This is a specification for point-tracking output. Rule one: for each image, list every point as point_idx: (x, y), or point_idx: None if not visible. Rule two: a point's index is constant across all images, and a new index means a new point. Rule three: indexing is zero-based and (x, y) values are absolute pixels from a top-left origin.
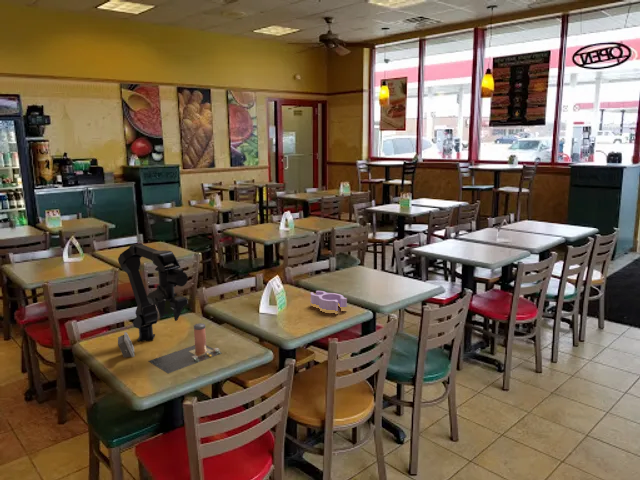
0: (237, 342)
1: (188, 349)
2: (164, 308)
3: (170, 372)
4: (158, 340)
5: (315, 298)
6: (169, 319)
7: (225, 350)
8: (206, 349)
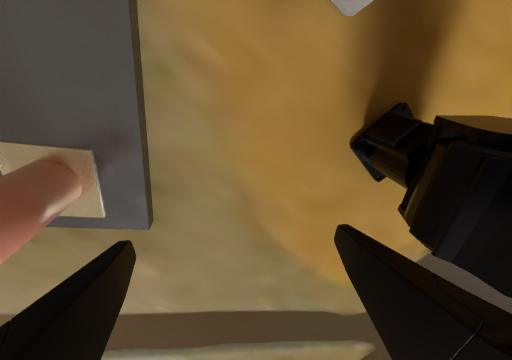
0: None
1: (119, 164)
2: (369, 315)
3: None
4: (331, 160)
5: None
6: None
7: (51, 247)
8: None
